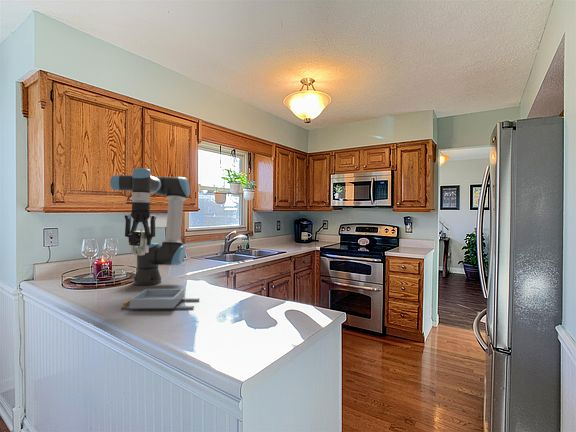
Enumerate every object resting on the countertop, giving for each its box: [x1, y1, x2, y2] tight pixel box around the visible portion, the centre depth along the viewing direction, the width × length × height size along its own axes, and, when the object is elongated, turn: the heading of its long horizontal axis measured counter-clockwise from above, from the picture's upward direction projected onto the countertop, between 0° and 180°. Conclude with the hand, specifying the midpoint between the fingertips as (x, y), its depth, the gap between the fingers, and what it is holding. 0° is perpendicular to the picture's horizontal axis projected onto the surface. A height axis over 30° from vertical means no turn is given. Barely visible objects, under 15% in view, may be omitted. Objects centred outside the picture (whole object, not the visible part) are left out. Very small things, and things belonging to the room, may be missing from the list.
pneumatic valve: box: [127, 228, 153, 256], centre depth 142 cm, size 6×12×12 cm, turn 173°
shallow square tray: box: [129, 288, 185, 308], centre depth 140 cm, size 18×18×4 cm
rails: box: [120, 297, 200, 311], centre depth 140 cm, size 14×31×2 cm, turn 95°
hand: (139, 252), depth 142 cm, fingers closed on pneumatic valve, 5 cm apart
